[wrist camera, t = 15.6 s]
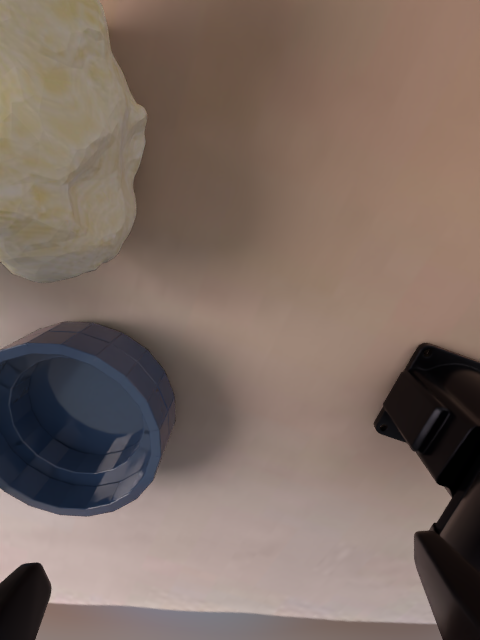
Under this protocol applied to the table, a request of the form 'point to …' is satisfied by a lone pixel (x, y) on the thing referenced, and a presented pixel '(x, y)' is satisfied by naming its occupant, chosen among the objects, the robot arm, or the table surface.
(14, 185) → the cheese
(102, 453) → the dish
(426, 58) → the table surface
